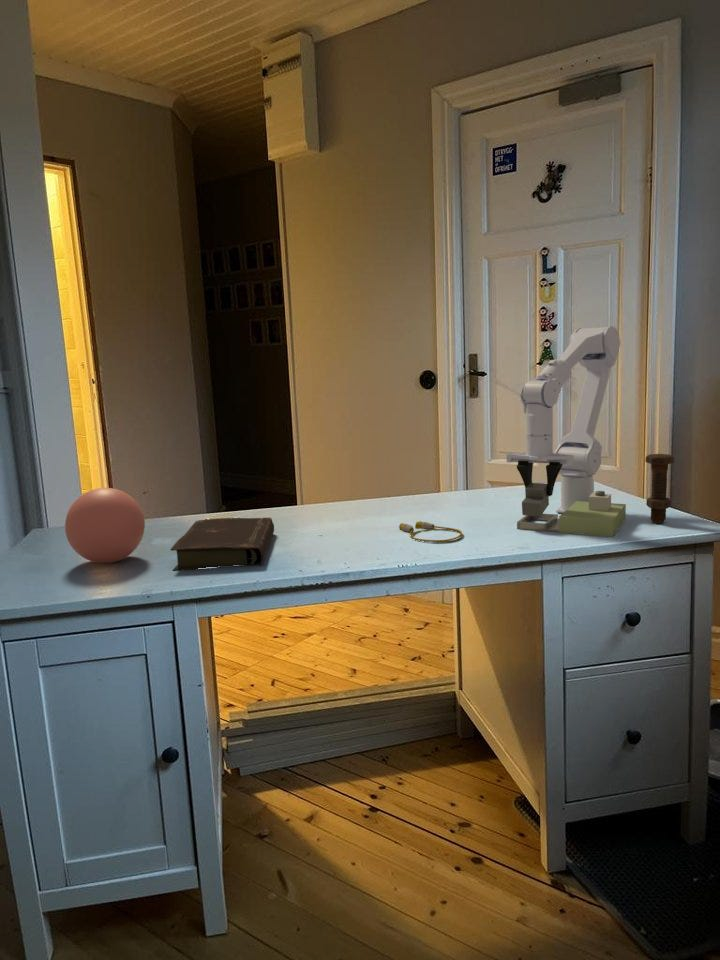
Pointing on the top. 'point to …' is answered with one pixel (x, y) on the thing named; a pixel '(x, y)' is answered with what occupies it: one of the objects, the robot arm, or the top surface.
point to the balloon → (104, 525)
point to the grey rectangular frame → (550, 525)
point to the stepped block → (535, 499)
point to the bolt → (659, 486)
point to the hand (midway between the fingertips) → (539, 494)
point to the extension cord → (427, 526)
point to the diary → (223, 542)
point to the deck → (593, 516)
